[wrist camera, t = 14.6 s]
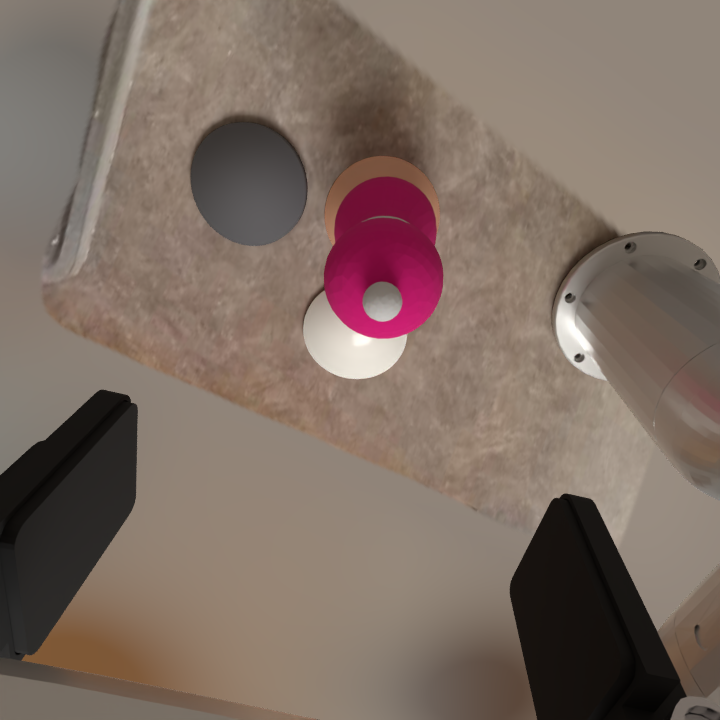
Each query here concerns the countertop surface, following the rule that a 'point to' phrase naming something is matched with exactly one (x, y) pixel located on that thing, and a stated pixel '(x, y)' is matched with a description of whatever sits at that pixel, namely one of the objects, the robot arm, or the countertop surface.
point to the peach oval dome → (373, 169)
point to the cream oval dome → (346, 344)
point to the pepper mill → (384, 259)
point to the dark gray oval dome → (248, 183)
